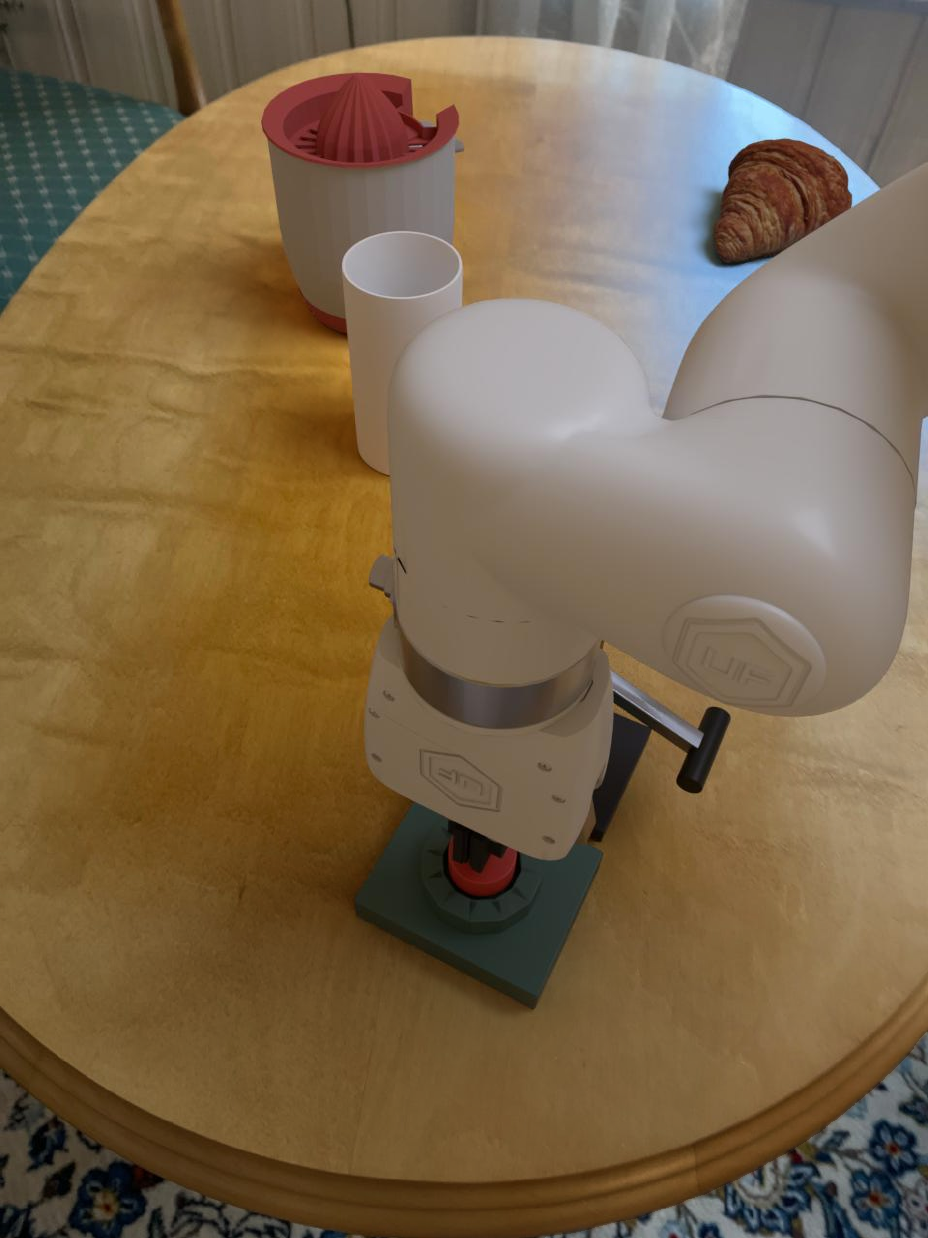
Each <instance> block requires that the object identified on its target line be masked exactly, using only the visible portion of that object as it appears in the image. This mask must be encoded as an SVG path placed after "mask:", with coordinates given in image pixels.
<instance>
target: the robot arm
mask: <svg viewBox="0 0 928 1238" xmlns="http://www.w3.org/2000/svg"><path fill="white" fill-rule="evenodd" d="M650 391H651V390H650V387H649V383H648V379H647V376H646V372H645V369H644V368H643V366H642V363H641V362H640V359H639V358H638V356H637V355H636V353H635V352H634V350H633V348H632V347H631V345H629V343H628V342H627V341H626V340H625V339H624V338H623V337H622V336H621V335H620V334H619V333H618V332H616V331H615V330H614V329H612V327H610V326H608V325H607V324H606V323H604V322H602V321H601V320H599V319H597V318H596V317H593V316H592V315H590V314H588V313H586V312H583V311H581V310H579V309H576V308H574V307H571V306H568V305H564V304H562V303H558V302H555V301H548V300H543V299H537V298H524V297H502V298H493V299H485V300H480V301H476V302H472V303H468V304H466V305H462V307H460V308H457V309H454V310H451V311H449V312H447V313H445V314H443V315H441V316H439V317H437V318H436V319H434V320H433V321H431V322H430V323H428V324H427V325H426V326H424V327H423V328H422V329H421V330H420V331H419V332H418V333H417V334H416V335H415V336H414V337H413V338H412V339H411V340H410V341H409V343H408V344H407V345H406V347H405V348H404V350H403V351H402V353H401V355H400V356H399V358H398V360H397V362H396V364H395V367H394V370H393V373H392V376H391V379H390V383H389V388H388V396H387V432H388V453H389V473H390V476H389V492H390V493H389V494H390V513H391V536H392V551H393V552H392V553H393V555H392V556H393V557H391V556H389V555H386V554H380V555H379V556H378V557H377V558H376V559H375V561H374V562H373V564H372V566H371V569H370V572H369V575H368V585H369V586H370V587H371V588H373V589H375V590H378V591H380V592H383V594H384V596H385V597H386V598H388V599H389V601H388V602H389V603H390V604H392V611H393V612H392V614H391V615H390V616H389V617H388V618H387V620H386V621H385V622H384V624H383V625H382V627H381V629H380V633H379V635H378V638H377V642H376V644H375V650H374V652H373V657H372V661H371V667H370V672H369V675H368V681H367V682H368V683H367V689H366V695H365V703H364V704H365V705H364V719H363V725H364V727H363V740H364V742H363V743H364V745H363V746H364V752H365V759H366V763H367V766H368V768H369V770H370V772H371V774H372V775H373V776H374V777H375V779H377V780H378V781H379V782H380V783H381V784H383V785H384V786H385V787H387V788H388V789H390V790H392V791H394V792H395V793H397V794H399V795H401V796H403V797H405V798H407V799H409V800H410V801H413V802H414V801H415V802H417V803H419V804H421V805H423V806H425V807H427V808H429V809H431V810H433V811H435V812H437V813H439V814H441V815H442V816H443V817H444V818H446V819H448V833H449V834H451V835H453V860H454V861H456V862H458V863H460V864H463V862H464V863H467V862H468V860H469V865H470V866H471V869H472V870H474V871H476V872H478V873H481V872H482V871H483V869H484V867H485V865H486V863H487V861H488V860H489V858H490V856H491V854H492V855H494V856H496V857H498V858H500V859H501V858H502V857H503V855H504V853H505V852H506V850H507V848H508V847H510V848H512V849H514V850H516V851H519V852H521V853H523V854H526V855H528V856H531V857H534V858H537V859H542V860H559V859H562V858H564V857H565V856H566V855H567V854H568V852H569V851H570V849H571V848H572V846H573V845H574V844H577V845H585V844H588V841H589V838H590V837H589V836H590V834H591V832H592V830H593V828H594V826H595V824H596V816H595V811H594V805H593V799H592V794H593V790H594V789H597V788H598V787H599V786H600V785H602V782H603V779H604V776H605V772H606V769H607V764H608V759H609V753H610V747H611V739H612V730H613V712H614V713H615V711H614V710H615V709H614V705H615V704H614V703H613V685H612V677H611V670H612V669H611V665H610V658H609V656H608V654H607V652H606V651H605V650H604V649H603V650H602V649H601V648H600V644H601V640H603V641H604V643H607V644H608V645H609V646H612V647H613V648H615V649H617V650H619V651H620V652H622V653H624V654H625V655H627V656H629V657H631V658H633V659H634V660H636V661H637V662H639V663H641V664H643V665H645V666H647V667H648V668H650V669H652V670H653V671H655V672H657V673H659V674H661V675H662V676H665V677H667V678H668V679H670V680H673V681H674V682H676V683H677V684H680V685H681V686H684V687H685V688H688V689H690V690H692V691H693V692H696V693H699V694H701V695H703V696H705V697H708V698H709V699H712V700H714V701H717V702H719V703H721V704H723V705H727V706H729V707H732V708H736V709H740V710H744V711H747V712H752V713H757V714H761V715H765V716H772V717H773V716H774V717H784V718H785V717H786V718H802V717H815V716H821V715H825V714H829V713H833V712H836V711H839V710H841V709H844V708H846V707H848V706H851V705H852V704H854V703H856V702H857V701H859V700H861V699H862V698H863V697H865V696H866V695H868V693H869V692H871V691H872V690H873V689H874V688H875V687H876V686H877V685H878V684H879V683H880V682H881V680H882V679H883V678H884V676H885V675H886V674H887V672H888V671H889V670H890V668H891V666H892V665H893V662H894V661H895V658H896V656H897V654H898V651H899V649H900V646H901V643H902V639H903V636H904V631H905V627H906V622H907V618H908V609H909V602H910V601H909V600H910V590H911V577H912V559H913V546H914V545H913V543H914V531H915V530H914V528H915V527H914V526H915V512H916V507H917V501H918V486H919V472H920V471H919V470H920V457H921V441H922V431H923V422H924V419H926V418H928V161H925V162H924V163H923V164H921V165H918V166H917V167H916V168H914V169H912V170H911V171H909V172H906V173H905V174H903V175H902V176H900V177H898V178H897V179H895V180H893V181H892V182H890V183H888V184H887V185H885V186H884V187H882V188H879V189H878V190H876V191H875V192H874V193H872V194H870V195H868V196H867V197H866V198H864V199H863V200H861V201H859V202H858V203H856V204H854V205H852V206H851V208H850V209H848V210H847V211H845V212H844V213H842V214H840V215H839V216H837V217H836V218H834V219H832V220H831V221H829V222H828V223H826V224H824V225H823V226H821V227H820V228H818V229H817V230H815V231H813V232H812V233H810V234H809V235H807V236H806V237H804V238H802V239H801V240H799V241H798V242H796V243H795V244H793V245H792V246H790V247H788V248H787V249H785V250H784V251H782V252H781V253H779V254H777V255H774V257H771V259H769V260H768V261H766V262H765V263H763V264H762V265H761V266H759V267H758V268H756V270H754V271H753V272H751V273H750V274H749V275H748V276H747V277H745V278H744V279H743V280H742V281H741V282H740V283H738V284H737V285H736V286H734V288H732V289H731V290H730V291H729V292H728V293H727V294H726V295H725V296H724V297H723V298H722V299H721V300H720V301H719V302H718V304H717V305H716V306H714V308H713V309H712V310H711V311H710V313H708V315H707V316H706V317H705V318H704V319H703V321H702V322H701V323H700V325H699V326H698V328H697V330H696V331H695V333H694V334H693V336H692V338H691V340H690V341H689V343H688V345H687V347H686V349H685V351H684V354H683V357H682V359H681V361H680V364H679V366H678V369H677V371H676V373H675V377H674V380H673V383H672V386H671V388H670V391H669V395H668V397H667V400H666V403H665V407H664V410H663V413H662V416H659V415H658V414H657V413H656V412H655V411H654V407H653V405H652V398H651V392H650ZM610 669H611V670H610Z"/></svg>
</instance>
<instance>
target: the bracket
mask: <svg viewBox="0 0 928 1238" xmlns="http://www.w3.org/2000/svg"><path fill="white" fill-rule="evenodd" d="M604 646H605V641H603V640H601V644H600V648H601V649H602V650H603V651H604ZM651 734H652V729H651V728H649V727H648V726H647V725H645V724H644V723H640V722H638V721H636V720H633V719H630V718H628V717H626V716H624V715H621V714H619V713H617V712H615V711H614V712H613V730H612V739H611V747H610V753H609V759H608V764H607V769H606V772H605V776H604V779H603V782H602V785H600V786H599V787H598V788H597V789H594V790H593V794H592V799H593V805H594V811H595V816H596V824H595V826H594V828H593V830H592V832H591V834H590V836H589V838H592V839H593V840H596V841H597V842H600V843H601V842H602V841H603V840H604V838H605V835H606V833H607V831H608V829H609V826H610V825H611V822H612V820H613V818H614V816H615V814H616V811H617V809H618V807H619V805H620V803H621V801H622V798H623V796H624V794H625V792H626V790H627V788H628V785H629V784H630V781H631V779H632V776H633V775H634V773H635V770H636V768H637V766H638V764H639V762H640V759H641V757H642V755H643V753H644V750H645V748H646V746H647V744H648V742H649V740H650V736H651Z"/></svg>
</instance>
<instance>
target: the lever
mask: <svg viewBox="0 0 928 1238" xmlns="http://www.w3.org/2000/svg"><path fill="white" fill-rule="evenodd" d="M610 670H611V677H612V685H613V704H614V705H615V706H617V707H619V708H620V709H621V710H623V711H625V712H626V713H627V714H629V715H630V716H632V717H633V718H635V719H636V720H638V721H639V722H641V724H643V725H645V726H647V727H649V728H651V729H652V730H653V732H655V733H657V734H658V735H660V736H661V737H662V738H664V739H665V740H667V741H668V742H670V743H671V744H673V745H674V746H675V747H677V748H678V749H680V750H681V751H682V752H685V753H686V755H685V757H684V760H683V763H682V765H681V767H680V769H679V771H678V774H677V777H676V779H675V783H676V785H677V786H678V788H680V789H681V790H682V791H683V792H684V791H685V792H687V793H689V794H693V795H697V794H701V793H702V791H703V789H704V787H705V785H706V782H707V780H708V778H709V774H710V772H711V771H712V767H713V765H714V763H715V760H716V758H717V755H718V752H719V750H720V748H721V745H722V743H723V740H724V738H725V735H726V733H727V730H728V728H729V726H730V723H731V721H732V720H731V719H732V717H731V714H730V713H729V712H728V710H726V709H724V708H722V707H720V706H714V705H713V706H708V707H707V708H706V709H705V711H704V713H703V716H702V718H701V720H700V723H699V725H698V727H695V726H694V725H692V724H691V723H690V722H688V721H687V720H685V719H684V718H683V717H681V716H679V715H678V714H677V713H675V712H674V711H672V710H671V709H669V708H668V707H667V706H665V705H664V704H662V703H661V702H659V701H658V700H656V699H655V698H653V697H652V696H650V695H649V694H648V693H646V691H645V692H644V690H642V689H640V688H639V687H637V686H636V685H634V684H633V683H631V681H629V680H627V679H626V678H624V677H623V676H621V675H619V673H617V672H615V671H614V670H613V669H611V668H610Z"/></svg>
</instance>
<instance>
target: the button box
mask: <svg viewBox="0 0 928 1238" xmlns="http://www.w3.org/2000/svg"><path fill="white" fill-rule="evenodd" d="M452 837H453V835H451V834H449V833H448V819H446V818H444V817H443V816H442V815H441V814H439V813H437V812H435V811H433V810H431V809H429V808H427V807H425V806H423V805H421V804H419V803H417V802H415V801H413V802H412V803H411V805H410V807H409V809H408V810H407V812H406V813H405V815H404V817H403V818H402V820H401V821H400V824H399V825H398V827H397V828H396V830H395V831H394V833H393V834H392V836H391V838H390V839H389V841H388V843H387V845H386V846H385V848H384V849H383V851H382V853H381V854H380V856H379V858H378V859H377V861H376V862H375V864H374V866H373V867H372V870H370V872H369V874H368V876H367V877H366V879H365V881H364V882H363V883H362V885H361V887H360V889H359V890H358V892H357V893H356V895H355V897H354V899H353V906H354V911H355V916H356V917H357V918H360V920H361V919H362V920H363V921H365V922H367V923H368V924H371V925H373V926H375V927H376V928H378V929H380V930H382V931H384V932H386V933H388V934H390V935H391V936H394V937H395V938H397V939H399V940H401V941H403V942H405V943H406V944H409V945H411V946H412V947H414V948H417V949H418V950H420V951H421V952H424V953H425V954H427V955H429V956H431V957H433V958H435V959H437V960H439V961H441V962H443V963H445V964H447V965H449V966H450V967H452V968H454V969H456V970H458V971H460V972H462V973H463V974H466V975H467V976H469V977H472V978H473V979H475V980H477V981H479V982H480V983H483V984H484V985H486V986H489V987H490V988H493V989H494V990H496V991H498V992H499V993H502V994H503V995H506V996H507V997H508V998H511V999H513V1000H515V1001H517V1002H519V1003H520V1004H522V1005H524V1006H526V1007H528V1008H530V1009H532V1010H536V1008H537V1006H538V1003H539V1001H540V999H541V996H542V994H543V992H544V990H545V988H546V985H547V983H548V981H549V979H550V977H551V975H552V973H553V971H554V968H555V966H556V964H557V961H558V959H559V957H560V955H561V953H562V951H563V948H564V947H565V944H566V942H567V940H568V937H569V935H570V933H571V931H572V929H573V926H574V924H575V922H576V920H577V918H578V915H579V913H580V911H581V909H582V906H583V905H584V902H585V900H586V898H587V897H588V893H589V891H590V889H591V887H592V885H593V882H594V880H595V878H596V876H597V874H598V871H599V869H600V867H601V863H602V860H603V858H604V857H603V856H604V851H603V850H600V849H598V848H596V847H594V846H592V845H590V844H589V843H586V844H585V845H577V844H574V845H573V846H572V848H571V849H570V851H569V852H568V854H567V855H566V856H565V857H564V858H562V859H559V860H542V859H537V858H534V857H531V856H528V855H526V854H523V853H521V852H519V851H517V858H516V865H515V872H514V875H513V878H512V880H511V882H510V883H509V884H508V886H507V887H506V888H505V889H503V890H502V891H500V892H499V893H497V894H494V895H491V896H484V897H481V896H474V895H470V894H468V893H466V892H464V891H463V890H461V889H460V888H459V887H458V886H457V885H456V884H455V883H454V881H453V880H452V878H451V875H450V872H449V866H448V858H449V844H450V841H451V839H452Z"/></svg>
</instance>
